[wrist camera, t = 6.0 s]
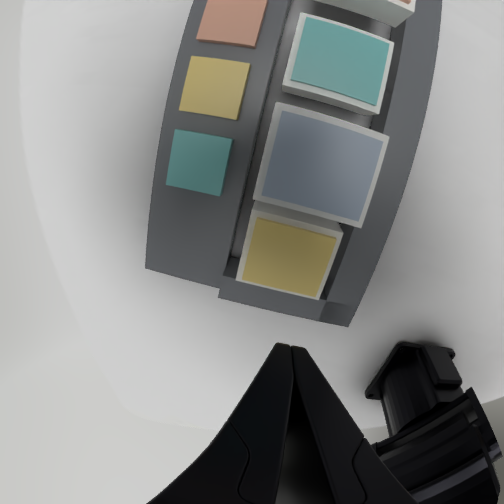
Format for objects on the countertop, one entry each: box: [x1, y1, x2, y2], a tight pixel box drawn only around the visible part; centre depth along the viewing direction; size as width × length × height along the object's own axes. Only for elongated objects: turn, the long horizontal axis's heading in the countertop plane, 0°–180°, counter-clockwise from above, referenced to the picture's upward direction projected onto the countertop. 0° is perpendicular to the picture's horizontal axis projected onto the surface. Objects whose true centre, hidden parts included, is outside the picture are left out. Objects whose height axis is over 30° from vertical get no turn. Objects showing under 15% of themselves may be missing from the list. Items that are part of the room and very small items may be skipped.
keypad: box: [145, 0, 442, 327], centre depth 14 cm, size 22×13×2 cm, turn 167°
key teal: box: [282, 12, 394, 116], centre depth 12 cm, size 4×4×4 cm
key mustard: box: [236, 200, 343, 300], centre depth 16 cm, size 4×4×4 cm
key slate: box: [252, 102, 389, 228], centre depth 12 cm, size 4×4×4 cm
